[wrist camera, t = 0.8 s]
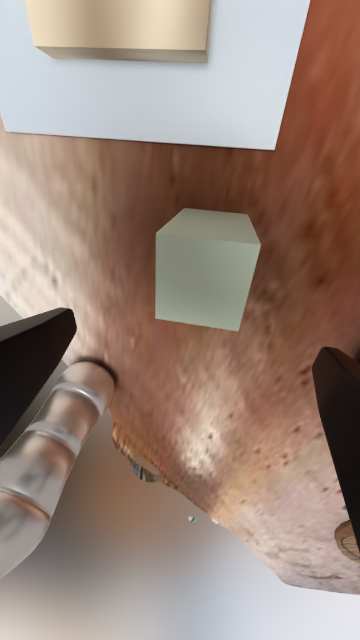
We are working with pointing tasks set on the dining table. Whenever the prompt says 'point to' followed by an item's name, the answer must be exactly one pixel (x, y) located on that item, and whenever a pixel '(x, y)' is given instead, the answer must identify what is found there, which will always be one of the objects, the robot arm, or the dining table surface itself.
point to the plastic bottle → (47, 458)
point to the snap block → (205, 268)
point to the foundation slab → (122, 29)
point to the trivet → (347, 541)
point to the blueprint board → (159, 83)
